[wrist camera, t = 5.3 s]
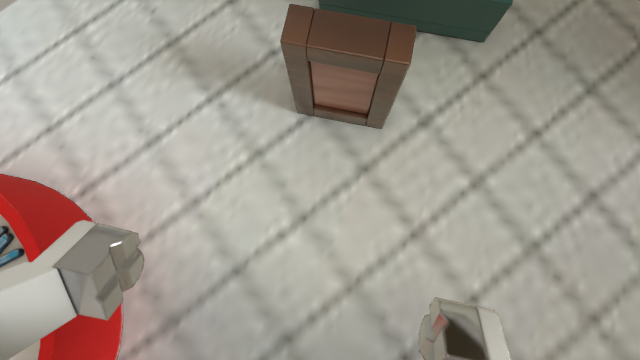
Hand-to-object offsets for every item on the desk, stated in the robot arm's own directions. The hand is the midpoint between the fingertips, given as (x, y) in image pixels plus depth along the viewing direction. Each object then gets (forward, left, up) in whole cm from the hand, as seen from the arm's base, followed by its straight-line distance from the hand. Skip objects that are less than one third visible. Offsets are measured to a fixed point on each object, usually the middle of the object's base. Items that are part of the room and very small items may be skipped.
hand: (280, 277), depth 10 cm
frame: (-6, -9, -14) cm, 18 cm away
